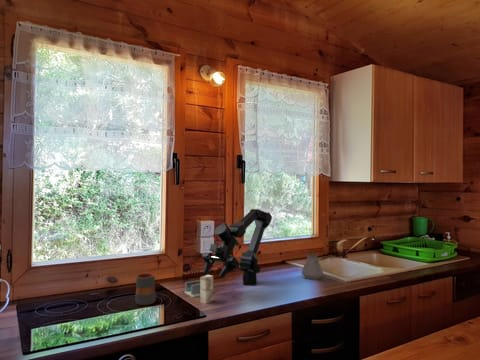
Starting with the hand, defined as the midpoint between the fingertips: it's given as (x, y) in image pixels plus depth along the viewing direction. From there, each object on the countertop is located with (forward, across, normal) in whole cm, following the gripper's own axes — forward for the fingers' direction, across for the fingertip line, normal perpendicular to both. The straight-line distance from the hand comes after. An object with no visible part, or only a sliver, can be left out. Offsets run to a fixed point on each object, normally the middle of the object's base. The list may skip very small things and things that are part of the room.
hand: (211, 276), depth 167 cm
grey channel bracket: (+5, -11, +10) cm, 16 cm away
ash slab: (+10, 0, +5) cm, 11 cm away
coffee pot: (-33, +25, +47) cm, 63 cm away
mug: (+21, -22, -6) cm, 31 cm away
